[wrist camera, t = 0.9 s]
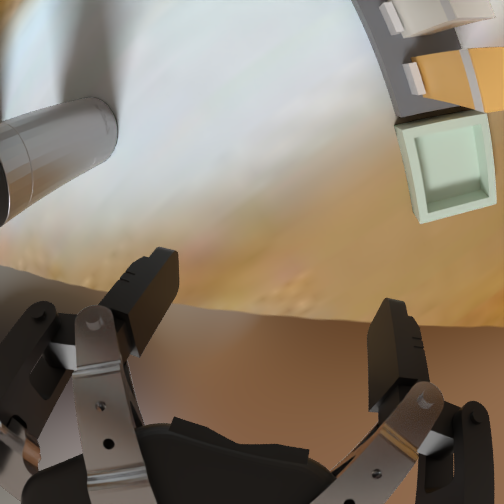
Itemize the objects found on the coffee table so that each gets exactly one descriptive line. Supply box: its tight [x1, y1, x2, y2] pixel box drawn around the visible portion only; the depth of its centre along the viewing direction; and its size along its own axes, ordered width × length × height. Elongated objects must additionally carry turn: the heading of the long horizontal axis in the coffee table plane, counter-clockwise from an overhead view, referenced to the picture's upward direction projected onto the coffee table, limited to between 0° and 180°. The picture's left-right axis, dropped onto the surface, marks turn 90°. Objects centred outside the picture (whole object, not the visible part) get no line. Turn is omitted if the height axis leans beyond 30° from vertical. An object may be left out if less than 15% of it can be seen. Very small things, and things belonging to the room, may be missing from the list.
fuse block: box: [351, 0, 461, 117], centre depth 18 cm, size 9×19×4 cm, turn 23°
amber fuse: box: [411, 47, 504, 113], centre depth 16 cm, size 3×4×12 cm
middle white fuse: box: [387, 0, 496, 38], centre depth 13 cm, size 3×4×12 cm
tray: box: [394, 109, 497, 224], centre depth 25 cm, size 10×10×3 cm
